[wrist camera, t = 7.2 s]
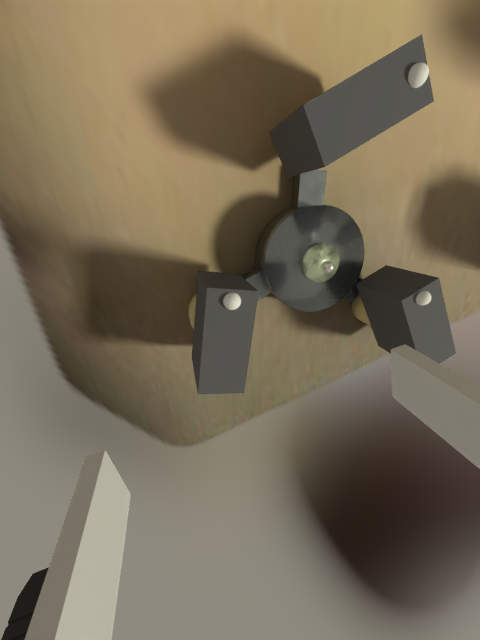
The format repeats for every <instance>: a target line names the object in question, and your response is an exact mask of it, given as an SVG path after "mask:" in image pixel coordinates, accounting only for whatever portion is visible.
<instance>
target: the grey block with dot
mask: <svg viewBox="0 0 480 640" xmlns="http://www.w3.org/2000/svg"><path fill="white" fill-rule="evenodd" d="M433 101H434V99H433V94H432V88H431V83H430V77H429V69H428V66H427V60H426V55H425V49H424V44H423V38H422V35H420V36H418V37H417V38H415V39H413V40H412V41H410V42H408V43H407V44H405V45H403V46H401V47H400V48H398V49H396V50H395V51H393V52H391V53H390V54H388V55H386V56H385V57H383V58H381V59H380V60H378V61H376V62H375V63H373V64H371V65H370V66H368V67H366V68H365V69H363V70H361V71H359V72H358V73H356V74H354V75H353V76H351V77H349V78H348V79H346V80H344V81H343V82H341V83H339V84H338V85H336V86H334V87H333V88H331V89H329V90H328V91H326V92H324V93H322V94H321V95H319V96H317V97H315V98H313V99H311V100H310V101H308V102H307V103H306V104H304V105H303V106H301V107H300V108H299V109H298V110H296V111H295V112H294V113H293V114H291V115H290V116H289V117H288V118H286V119H285V120H284V121H283V122H281V123H280V124H279V125H278V126H276V127H275V128H274V129H273V130H271V131H270V132H269V133H270V135H271V138H272V140H273V143H274V145H275V147H276V150H277V152H278V155H279V157H280V160H281V162H282V165H283V167H284V170H285V172H286V174H287V177H292V176H295V175H299V174H302V173H305V172H309V171H312V170H315V169H319V168H322V167H325V166H327V165H329V164H330V163H332V162H333V161H335V160H337V159H338V158H340V157H342V156H343V155H345V154H347V153H348V152H350V151H352V150H353V149H355V148H357V147H358V146H360V145H362V144H363V143H365V142H367V141H368V140H370V139H372V138H373V137H375V136H377V135H378V134H380V133H382V132H383V131H385V130H387V129H388V128H390V127H392V126H393V125H395V124H397V123H398V122H400V121H402V120H403V119H405V118H407V117H408V116H410V115H412V114H413V113H415V112H417V111H418V110H420V109H422V108H423V107H425V106H427V105H428V104H430V103H432V102H433Z"/></svg>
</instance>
